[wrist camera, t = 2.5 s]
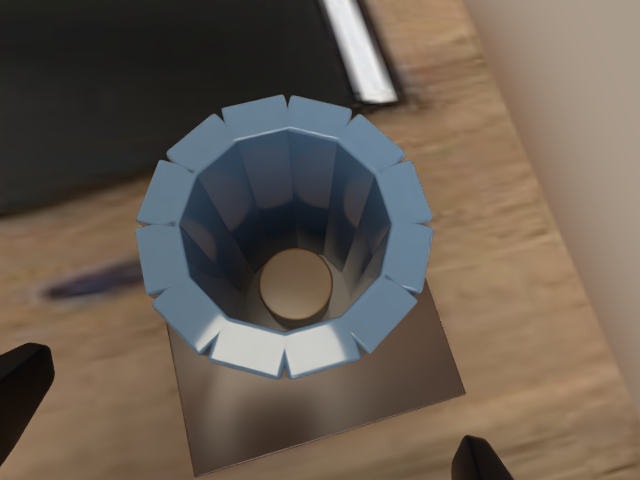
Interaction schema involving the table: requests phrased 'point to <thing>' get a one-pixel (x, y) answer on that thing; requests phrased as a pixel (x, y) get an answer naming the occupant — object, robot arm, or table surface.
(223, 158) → the vase
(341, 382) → the platform
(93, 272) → the table surface
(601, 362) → the table surface
